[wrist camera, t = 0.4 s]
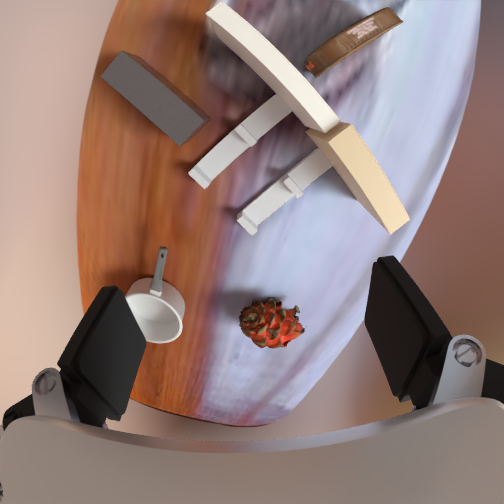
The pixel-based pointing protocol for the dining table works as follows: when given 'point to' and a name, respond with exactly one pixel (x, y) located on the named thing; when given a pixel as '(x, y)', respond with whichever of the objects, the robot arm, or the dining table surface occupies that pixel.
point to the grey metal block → (155, 97)
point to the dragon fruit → (270, 324)
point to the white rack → (321, 132)
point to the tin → (351, 40)
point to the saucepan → (157, 305)
